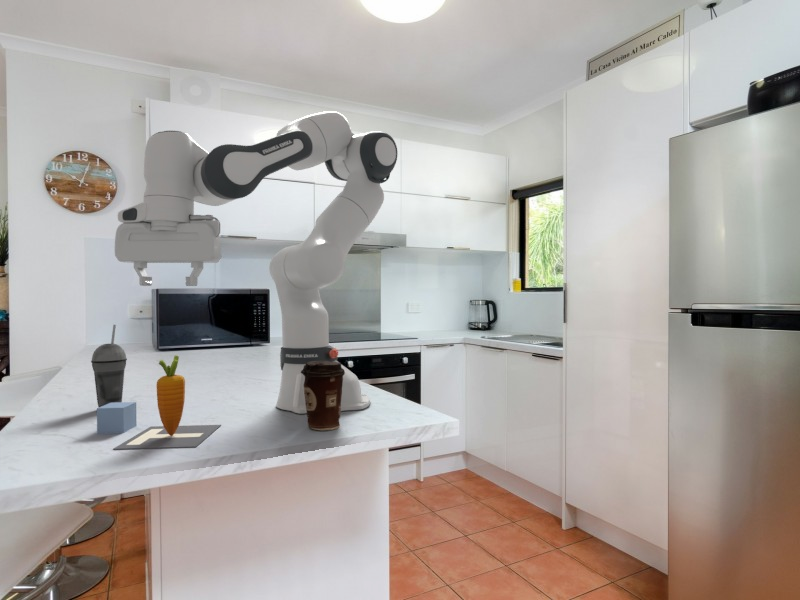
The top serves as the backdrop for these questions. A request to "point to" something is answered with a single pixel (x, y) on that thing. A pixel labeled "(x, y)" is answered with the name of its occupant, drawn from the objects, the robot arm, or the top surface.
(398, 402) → the top surface
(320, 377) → the coffee cup
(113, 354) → the beverage cup
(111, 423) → the slate cube
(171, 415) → the carrot
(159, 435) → the letter mat
